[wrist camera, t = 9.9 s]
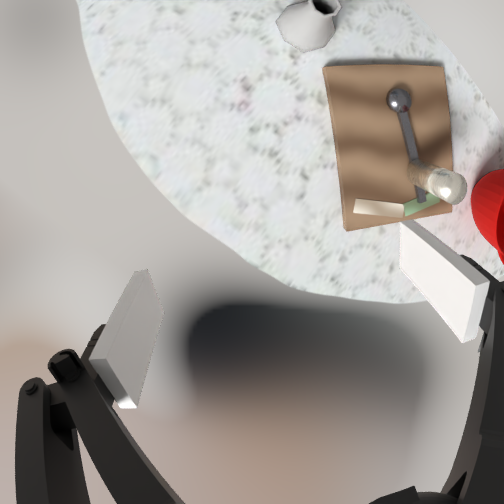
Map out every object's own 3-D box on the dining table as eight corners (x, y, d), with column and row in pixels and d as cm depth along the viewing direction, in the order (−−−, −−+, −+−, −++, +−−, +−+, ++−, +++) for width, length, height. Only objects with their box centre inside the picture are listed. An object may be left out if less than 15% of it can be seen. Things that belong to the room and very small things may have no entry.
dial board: (322, 68, 35) (325, 66, 33) (437, 67, 34) (443, 66, 32) (343, 227, 44) (347, 231, 42) (446, 209, 43) (452, 212, 42)
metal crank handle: (381, 92, 34) (421, 89, 25) (404, 86, 34) (446, 84, 25) (410, 204, 41) (448, 229, 32) (430, 196, 40) (470, 219, 31)
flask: (308, -6, 30) (327, -36, 21) (344, 34, 33) (373, 15, 24) (265, 21, 32) (273, -6, 23) (302, 62, 34) (322, 47, 25)
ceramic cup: (460, 262, 47) (493, 291, 38) (452, 170, 41) (493, 187, 31) (507, 238, 46) (541, 261, 37) (503, 152, 39) (544, 165, 30)
